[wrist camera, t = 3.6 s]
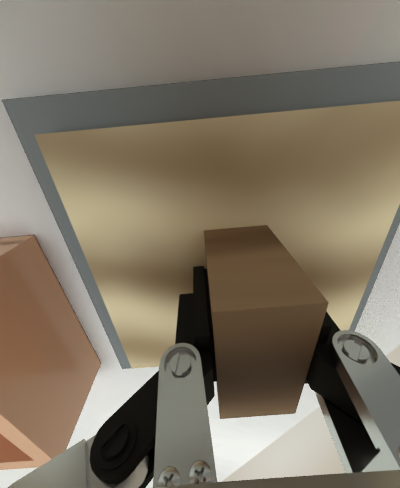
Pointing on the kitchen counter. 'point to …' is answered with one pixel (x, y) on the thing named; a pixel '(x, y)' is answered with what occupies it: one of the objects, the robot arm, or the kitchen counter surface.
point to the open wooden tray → (38, 358)
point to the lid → (234, 232)
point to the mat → (191, 108)
